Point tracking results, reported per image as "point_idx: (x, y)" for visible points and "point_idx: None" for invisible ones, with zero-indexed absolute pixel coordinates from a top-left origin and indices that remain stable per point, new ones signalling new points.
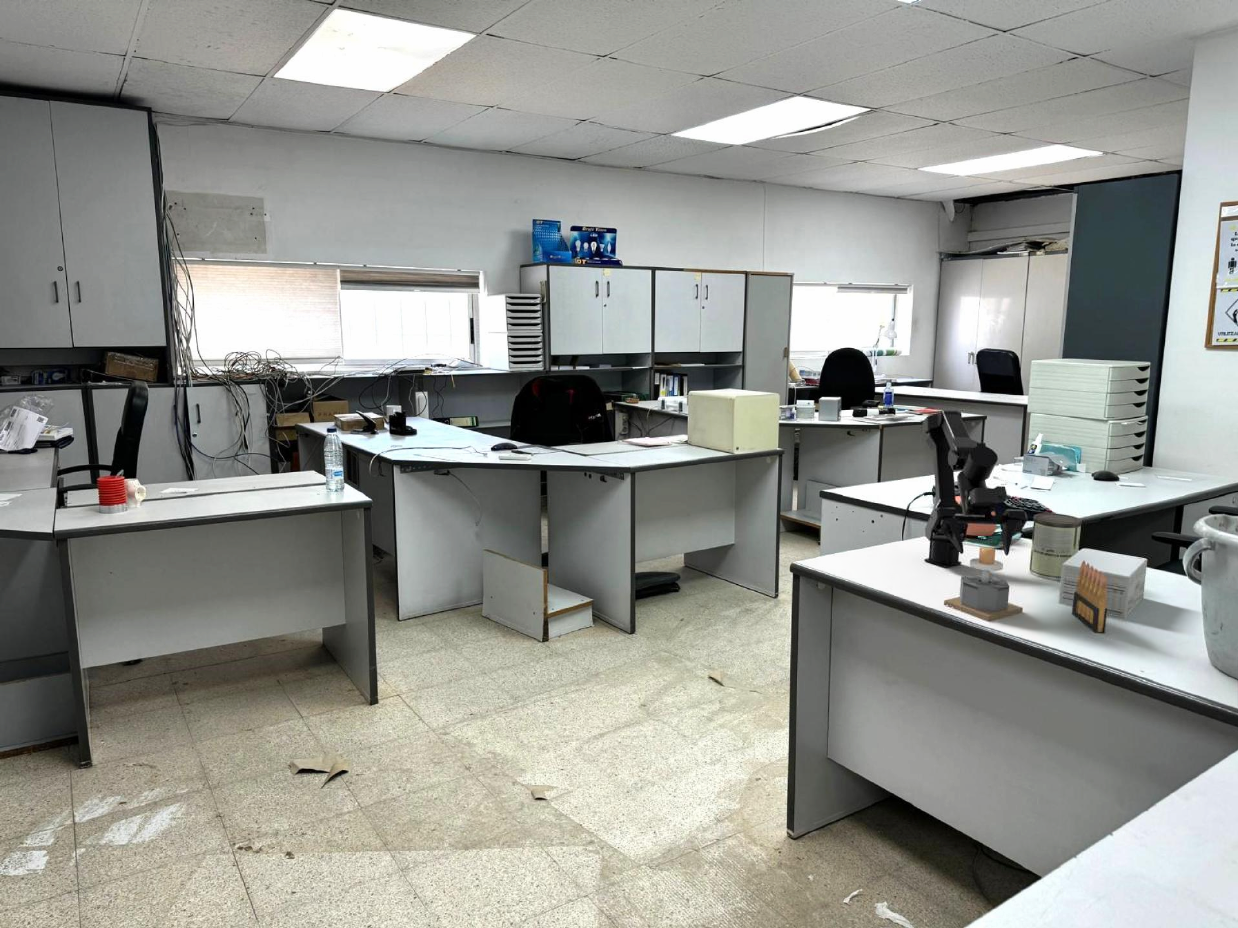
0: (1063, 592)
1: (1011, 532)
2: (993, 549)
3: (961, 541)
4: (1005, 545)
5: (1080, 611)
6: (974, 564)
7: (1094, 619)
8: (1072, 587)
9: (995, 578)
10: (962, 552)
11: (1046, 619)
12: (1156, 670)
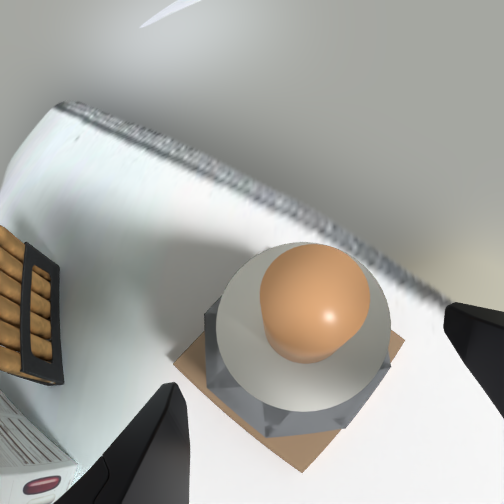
0: (51, 461)
1: (76, 498)
2: (273, 297)
3: (495, 320)
4: (169, 434)
5: (46, 341)
6: (364, 266)
7: (43, 263)
8: (23, 446)
9: (250, 407)
10: (447, 309)
11: (127, 323)
12: (58, 149)
